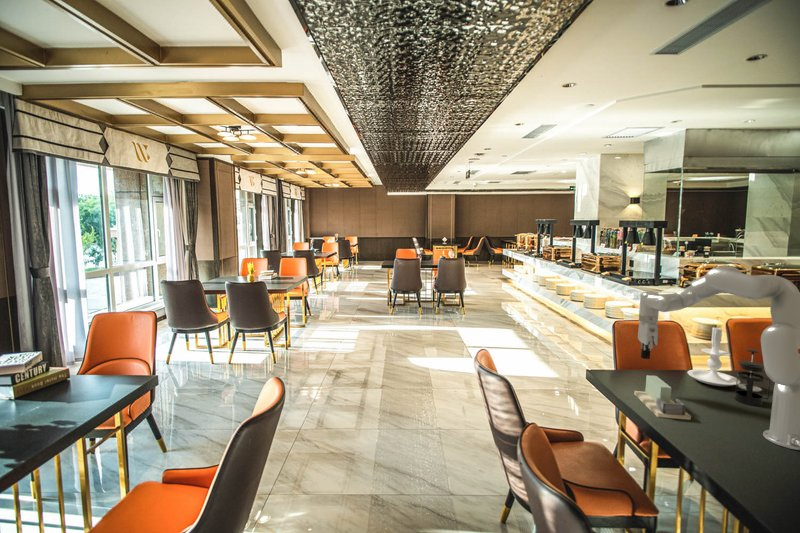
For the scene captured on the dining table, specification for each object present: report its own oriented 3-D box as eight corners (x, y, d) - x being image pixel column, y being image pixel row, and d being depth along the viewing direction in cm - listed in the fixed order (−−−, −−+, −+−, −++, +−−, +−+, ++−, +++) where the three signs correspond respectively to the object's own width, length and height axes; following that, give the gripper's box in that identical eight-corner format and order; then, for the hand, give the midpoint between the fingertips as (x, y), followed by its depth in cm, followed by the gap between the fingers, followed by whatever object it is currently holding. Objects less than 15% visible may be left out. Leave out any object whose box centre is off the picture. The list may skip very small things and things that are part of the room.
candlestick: (735, 378, 207) (740, 324, 204) (742, 394, 186) (748, 334, 184) (686, 370, 218) (690, 318, 216) (687, 384, 198) (692, 327, 195)
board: (690, 419, 160) (691, 406, 160) (657, 417, 162) (658, 403, 162) (663, 396, 183) (664, 384, 183) (634, 394, 185) (635, 382, 185)
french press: (732, 401, 178) (737, 350, 176) (732, 395, 186) (736, 345, 184) (768, 409, 171) (773, 355, 169) (766, 402, 178) (772, 350, 176)
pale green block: (670, 406, 169) (671, 387, 168) (659, 405, 169) (660, 387, 169) (654, 393, 183) (656, 375, 182) (645, 392, 183) (646, 375, 182)
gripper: (665, 323, 179) (661, 364, 181) (650, 316, 194) (647, 353, 195) (646, 322, 180) (643, 362, 182) (632, 315, 195) (630, 352, 196)
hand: (645, 358), depth 189 cm, fingers closed
